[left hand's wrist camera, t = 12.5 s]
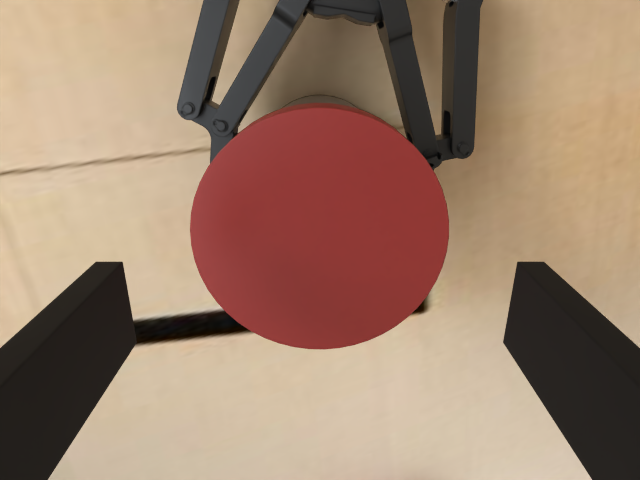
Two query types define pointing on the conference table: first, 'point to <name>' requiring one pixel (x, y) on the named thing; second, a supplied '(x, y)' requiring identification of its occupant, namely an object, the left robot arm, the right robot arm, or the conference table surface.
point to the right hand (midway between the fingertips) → (309, 251)
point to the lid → (319, 226)
